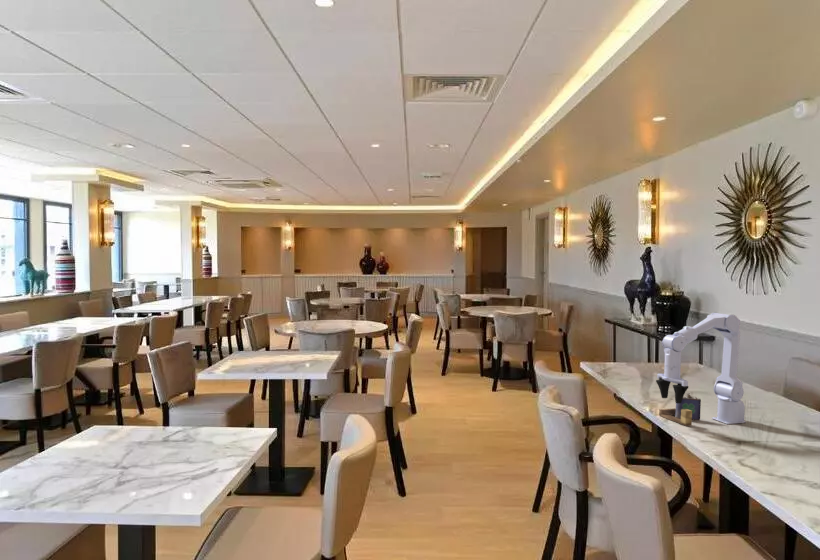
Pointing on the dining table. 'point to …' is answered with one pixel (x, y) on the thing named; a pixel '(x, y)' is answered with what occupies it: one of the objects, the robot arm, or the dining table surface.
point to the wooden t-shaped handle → (685, 418)
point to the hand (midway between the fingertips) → (671, 400)
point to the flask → (689, 407)
